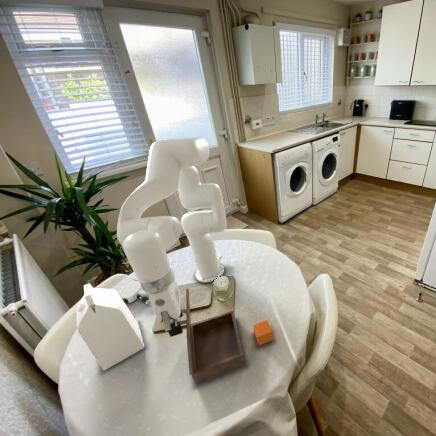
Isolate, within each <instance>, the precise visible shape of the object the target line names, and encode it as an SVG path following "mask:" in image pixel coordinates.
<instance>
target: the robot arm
mask: <svg viewBox="0 0 436 436" xmlns="http://www.w3.org/2000/svg"><path fill="white" fill-rule="evenodd" d="M148 153H149V155H148V160H147V166H146V173H145V179H144V182H142V183H141V184H140V185H139V186H137V188H136V189H134V191H133V192H132V193H131V194H129V196H128V197H127V198H126V199H125V200H124V202H123V203H122V205H121V207H120V210H119V214H118V220H117V223H116V224H117V225H116V236H117V237H116V239H117V240H118V242H119V244H120V245H121V246H122V250H123V252H124V254H125V256H126V258H127V260H128V262H129V265H130V267H131V269H132V271H133V273H134V275H135V278H136V280H138V282H139V284H140V286H141V288H142V290H143V291H144V292H146V293H148V296H149V300H150V304H151V307H152V311H153V312H154V315H155V317H156V319H157V320H158V322H159V323H161V324H163V326H164V331H165V332H167V334H168V335H169V337H171V338H173V337H175V336H178V335H181V334H183V333H184V331H183V328H182V325H180V323H179V322H178V319H180V318H182V317H183V316H184V313H181V310H182V293H181V290H180V288H179V286H178V284H177V281H176V276H175V273H174V270H173V267H172V264H171V262H170V259H169V257H168V254H167V252H168V250H169V249H170V248H171V247H173V245H175V243H176V242H177V241H178V240H179V239H180V236H181V235H182V233H184V234H185V236H186V238H187V240H188V244H189V246H190V250H191V252H192V256H193V259H194V262H195V266H196V269H197V270H196V272H195V278H196V280H197V281H198V282H200V283H205V284H206V283H212V282H214V281H213V280H214V279H215V278H217V277H218V276H221V277H222V276H223V274H224V273H225V267H224V265H223V264H222V263H221V260H222V259H223V257H224V256H223V254H219V255H218V253H217V249H216V245H215V240H214V238H213V236H212V235H211V234H217V233H224V232H225V231H226V230H227V228H228V220H227V213H226V208H225V202H224V196H223V192H222V189H221V187H220V185H218V183H215V182H214V183H212V182H210V183H202V182H201V180H200V174H199V171H198V169H197V168H196V167H198V166H199V167H200V166H202V165H203V164H205V163H207V161H208V160H209V158H210V147H209V144H208V142H207V141H206V139H205V138H203V137H184V138H183V137H182V138H169V139H168V138H167V139H160V140H156V141H155V142H153V143H152V144H151V145H150V148H149V152H148ZM175 193H178V198H179V201H180V204H181V206H182V208H184V209H186V210H197V211H190V212H186V213H185V214H184V215H182V217H181V218H180V220H179V218H178V217H175V216H174V215H173V216H172V215H162V216H148V217H142V215H143V214H144V213H145V211H147V210H148V209H149V208H150V207H151V206H153V205H155V204H157V203H158V202H160V201H163V200H165V199H167V198H168V197H170V196H172V195H174V194H175ZM199 209H206V210H199ZM207 209H209V210H207ZM182 231H183V232H182ZM180 313H181V314H180ZM170 319H173V320H174V322H172V323H170Z"/></svg>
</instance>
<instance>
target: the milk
mask: <svg viewBox="0 0 436 436" xmlns="http://www.w3.org/2000/svg"><path fill="white" fill-rule="evenodd" d="M83 293H84V294H83V296H82V297H81V299H80V300H79V302H78V303H77V305H76V308H75V312H76V314H75V315H76V316H75V317H76V329H77V332H78V334H79V335H80V337H81V339H82V340H83V342H84V343H85V344H86V346H87V347H88V349H89V351H90V352H91V354H92V355H93V357H94V358H95V360H96V361H97V363H98V364H99V366H100V367H101V369H102V370H103V371H107V370H108V369H110V368H111V367H113V366H115V365H116V364H118V363H120V362H122V361H124V360H125V359H127V358H130V356H132V355H135V354H136V353H138V352H139V351H141V350H143V349H145V343H144V340H143V336H142V333H141V328H140V326H139V323H138V321H137V320H136V318H135V316H134V315H133V314H132V312H131V311H130V309H129V307H128V306H127V303H124V301H123V300H122V298H121V297H120V295H119V294H118V293H119V291H118V290H116V289H113V288H103V287H102V288H100V287H93V286H92V285H91V283H86V284H84V285H83Z"/></svg>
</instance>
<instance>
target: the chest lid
mask: <svg viewBox="0 0 436 436" xmlns="http://www.w3.org/2000/svg"><path fill="white" fill-rule="evenodd" d="M181 313H183V314H185V315H186V318H185V319H183V320H179V321H178V320H177V322H179V323H180V325H181V326H182V325H185V324H186V345H187V348H186V349H187V360H188V361H187V362H188V373H189V374H188V375H189V376H192V374H193V370H192V339H191V324H192V317H191V301H190V289H189V288H186V289H185V308H184V309H181ZM181 313H180V314H181ZM172 322H174V320H173V319H170V323H172Z"/></svg>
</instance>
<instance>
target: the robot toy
mask: <svg viewBox="0 0 436 436" xmlns="http://www.w3.org/2000/svg"><path fill="white" fill-rule="evenodd" d="M130 280H131V281H129V282H128V283H126V284H125V285H123V287H121V288H120V290H119V291H118V294H119V295H120V297H121V298H122V300H123V301H124V303H125V304H131V303H133V302H135V301H136V300H137V299H138V300H140V301H141V302H142V303H143V304H145V305H149V304H151V302H150V299H149V296H148V293H146V292H144V291H143V290H142V288H141V286H140V284H139V282H138V279H135V278H130Z"/></svg>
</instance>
